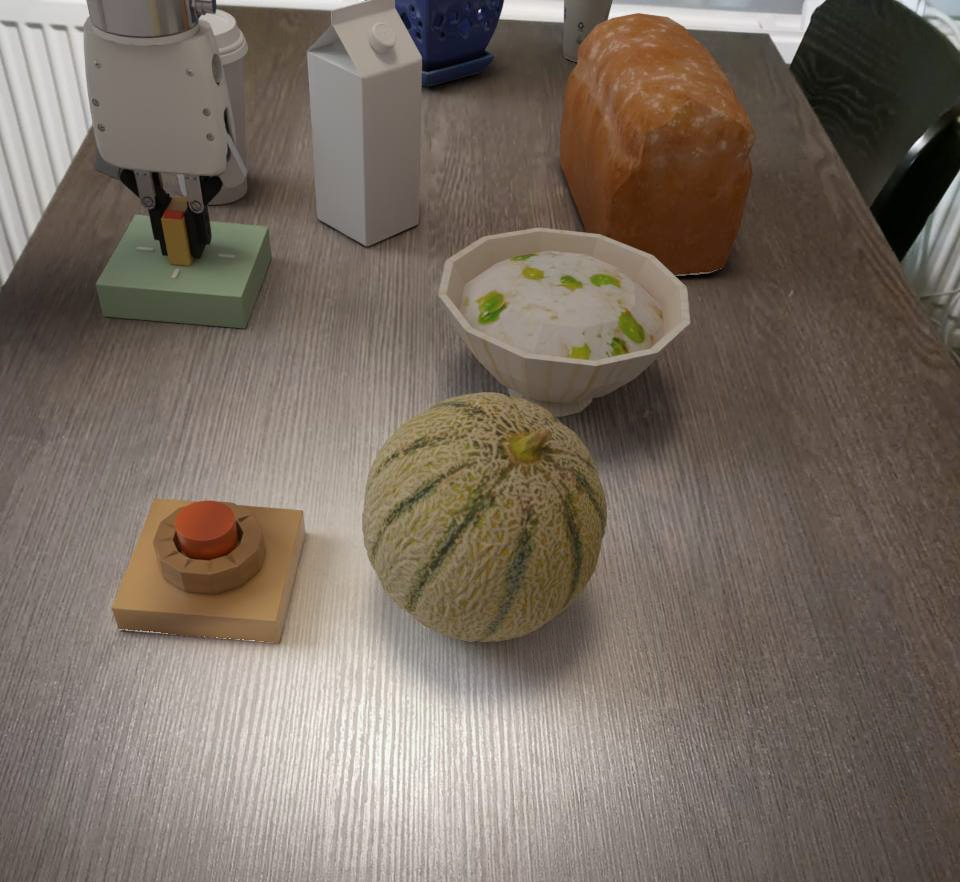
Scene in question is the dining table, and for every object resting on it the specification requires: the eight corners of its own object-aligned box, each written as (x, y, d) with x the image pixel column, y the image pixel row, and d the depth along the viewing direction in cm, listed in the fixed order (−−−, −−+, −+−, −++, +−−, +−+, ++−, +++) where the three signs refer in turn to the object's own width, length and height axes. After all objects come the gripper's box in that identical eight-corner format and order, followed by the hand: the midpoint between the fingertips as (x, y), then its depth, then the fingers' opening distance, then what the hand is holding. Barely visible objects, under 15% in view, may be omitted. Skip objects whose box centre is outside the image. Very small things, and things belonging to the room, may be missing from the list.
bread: (596, 280, 91) (626, 102, 79) (550, 155, 108) (569, -7, 96) (736, 280, 93) (786, 106, 81) (670, 157, 109) (704, -2, 97)
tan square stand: (118, 631, 60) (103, 587, 57) (160, 521, 66) (149, 476, 63) (279, 644, 60) (273, 601, 57) (305, 533, 67) (301, 489, 64)
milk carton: (316, 220, 95) (302, -3, 80) (370, 198, 98) (366, -19, 84) (366, 249, 92) (361, 23, 77) (419, 225, 95) (424, 5, 81)
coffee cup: (169, 167, 100) (140, 0, 88) (264, 168, 101) (247, 4, 89) (160, 211, 94) (128, 39, 82) (261, 213, 95) (242, 43, 83)
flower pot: (355, 63, 121) (352, -51, 112) (436, 42, 127) (439, -67, 118) (425, 100, 115) (427, -16, 106) (505, 76, 121) (514, -35, 112)
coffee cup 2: (617, 59, 127) (631, -30, 120) (583, 71, 124) (596, -19, 116) (577, 43, 130) (588, -45, 123) (543, 54, 127) (552, -35, 119)
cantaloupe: (383, 511, 69) (382, 323, 57) (589, 537, 68) (628, 353, 57) (343, 674, 59) (331, 487, 48) (582, 704, 59) (627, 523, 47)
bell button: (173, 558, 59) (167, 537, 58) (187, 518, 62) (182, 497, 60) (231, 563, 60) (228, 542, 58) (243, 523, 62) (240, 502, 60)
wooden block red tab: (181, 240, 85) (172, 192, 81) (201, 241, 85) (194, 193, 82) (169, 264, 82) (160, 216, 79) (190, 266, 82) (182, 217, 79)
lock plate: (103, 316, 82) (94, 282, 79) (142, 245, 89) (135, 212, 87) (245, 329, 82) (241, 295, 80) (271, 257, 90) (268, 224, 87)
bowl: (634, 494, 72) (663, 380, 64) (395, 424, 75) (395, 308, 67) (689, 358, 84) (719, 249, 76) (481, 304, 87) (489, 193, 79)
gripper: (263, -3, 72) (284, 235, 86) (48, -23, 71) (105, 220, 85) (243, 33, 67) (269, 280, 81) (12, 12, 66) (79, 264, 81)
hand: (184, 247), depth 83 cm, fingers closed on wooden block red tab, 2 cm apart
